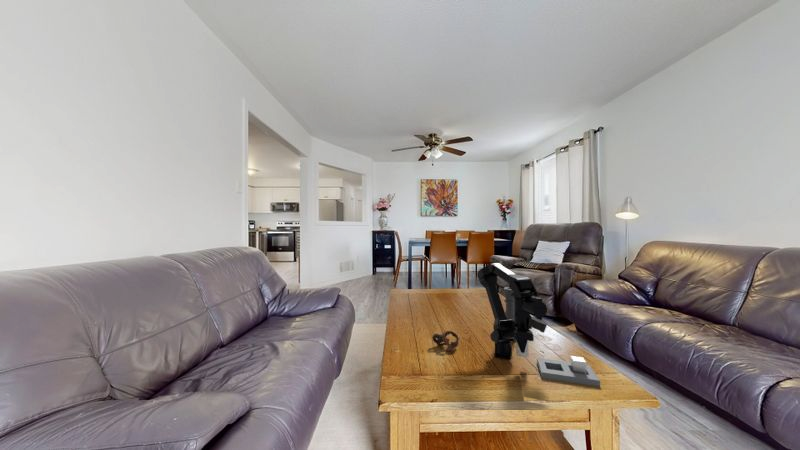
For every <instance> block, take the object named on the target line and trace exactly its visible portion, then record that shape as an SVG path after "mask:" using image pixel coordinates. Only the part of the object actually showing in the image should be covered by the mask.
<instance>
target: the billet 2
mask: <svg viewBox="0 0 800 450" xmlns="http://www.w3.org/2000/svg"><path fill="white" fill-rule="evenodd" d="M570 362H571V372H572V373H579V374H586V364H587V361H586V359H585V358H584V357H583V356H582V357H581V356H575V355H570Z"/></svg>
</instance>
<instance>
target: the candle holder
mask: <svg viewBox="0 0 800 450" xmlns="http://www.w3.org/2000/svg"><path fill="white" fill-rule="evenodd" d="M511 293H513V291H512V290H511V289H510V288H509V286H508V287H507V286H505V287H503V296H504V298H505V299H504V303H505V310H504V312H505V315H506V317H507V318H508V319H509V320H512V319H513V318H514V297H513V296H511ZM514 342H516V339H515V340H514Z"/></svg>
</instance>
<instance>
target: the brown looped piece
mask: <svg viewBox="0 0 800 450" xmlns="http://www.w3.org/2000/svg"><path fill="white" fill-rule="evenodd" d="M448 335H452V337H454V338H455V339H456V340H455V341H450V339H449V338H447V336H448ZM432 341H433V342H434V343H436V345H437V346H440V344H442V343H444V344H445V345H447V346H446V347H447V348H446V351H448V352H450V351H452V350H453V349H455V348H457V347H458V346H459V336H458V334H457V333H455V332H454V331H452V330H446V331H444V332H442V333H440V334H439V333H434V334H432Z"/></svg>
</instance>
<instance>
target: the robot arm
mask: <svg viewBox="0 0 800 450" xmlns="http://www.w3.org/2000/svg"><path fill="white" fill-rule="evenodd" d="M476 276H477V277H476V278H477V279H478V281H479V283H480V284H481V286H482V287H483V288H484V289H485V291H486V295H487V299H488V302H489V304H490V308H491V311H492V314H493V318H494V323H493V326H492V327H493V331H492V332H491V333H490V334H489V337H490V340H491V342H493V343H494V357H495V358H499V359H506V360H507V359H508V360H511V359H512V356H513V355H512V354H513V347H512V345H513V344H512V343H515V342H516V341H517V343H518V346H519V348H520V350H521V352H522V353H524V352H525V348H526V344H527V341H528V342H534V340H535V338H534V337H535V336H534V333H533V331H531V330H532V328H533V329H535V330H538V331H540V333H545V331H546V329H547V326H548V324H547V322H546V321H545V320H543V318H544V317H545V316H546V315H547V313H548V307H547V305H546V303H545V302H544V301H543V297H542V298H541V297H539V293H538V291H537V289H536V288H535V287H536V286H535V285H534V283H533V281H532V280H531V278H529V277H527V276H526V275H522V274H516V273H514V272H513V271H511V270H510V269H508V268H507V267H506V266H503V265H502V264H501V263H499V262H493V263H492V262H491V263H489V264H488V265H487V266H484V267H482V268H480V269H479V270H478V271H477V273H476ZM498 277H499V278H500V279H501V280H503V281H504V282H505V283H507V284H508V287H509V288H510V289H511V290H512V291H513V293H511V296H513V297H514V318H513V319H512V320H509V319H508V318H507V317H506V315H505V308H504V307H503V303H502V300H501V297H500V294H499V290H498V288H497V287H498V286H497V283H498V281H499V280H498ZM515 339H516V341H514V340H515Z"/></svg>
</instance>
